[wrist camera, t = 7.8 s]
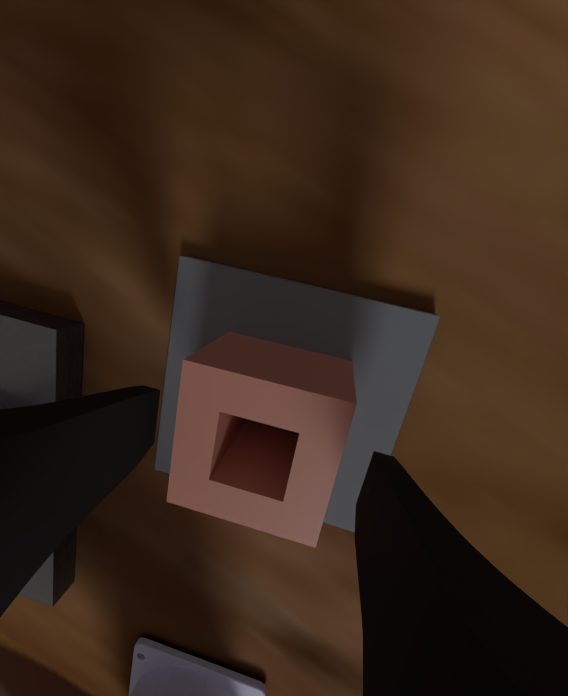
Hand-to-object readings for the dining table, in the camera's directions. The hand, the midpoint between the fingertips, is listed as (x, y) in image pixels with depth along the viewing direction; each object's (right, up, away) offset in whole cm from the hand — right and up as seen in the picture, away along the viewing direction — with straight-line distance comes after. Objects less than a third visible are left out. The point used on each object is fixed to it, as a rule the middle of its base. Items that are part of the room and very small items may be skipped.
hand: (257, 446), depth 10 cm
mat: (+1, +1, +4) cm, 4 cm away
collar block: (+1, +1, +3) cm, 3 cm away
